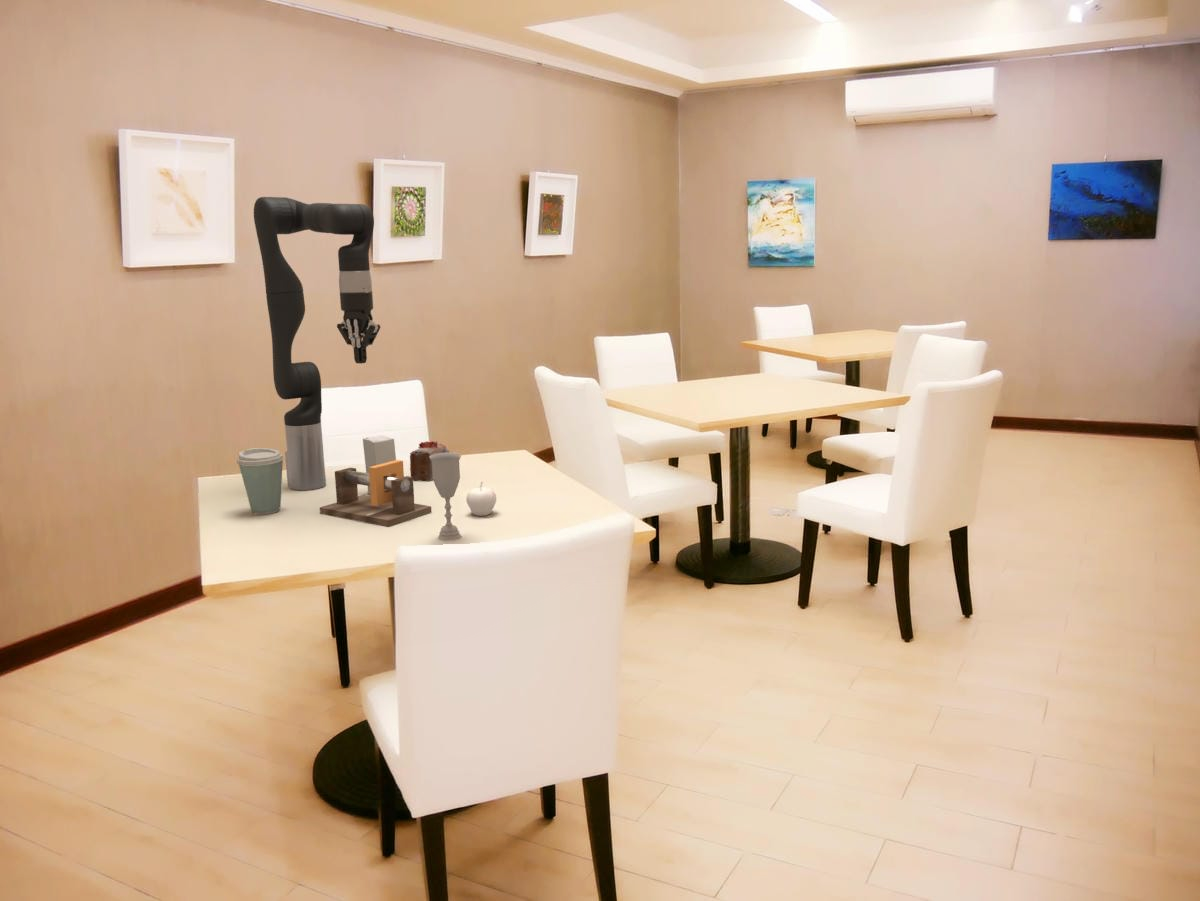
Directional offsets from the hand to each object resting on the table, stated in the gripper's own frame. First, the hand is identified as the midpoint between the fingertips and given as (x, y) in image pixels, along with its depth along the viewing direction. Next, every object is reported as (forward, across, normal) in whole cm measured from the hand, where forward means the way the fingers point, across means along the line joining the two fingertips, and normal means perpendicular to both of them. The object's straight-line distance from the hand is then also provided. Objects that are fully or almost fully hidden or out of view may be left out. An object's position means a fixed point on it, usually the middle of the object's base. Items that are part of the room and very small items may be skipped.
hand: (360, 363), depth 233 cm
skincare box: (+35, -4, +8) cm, 36 cm away
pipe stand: (+35, +8, -6) cm, 36 cm away
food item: (+35, -8, +30) cm, 47 cm away
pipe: (+29, +8, -6) cm, 30 cm away
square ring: (+31, +13, -6) cm, 34 cm away
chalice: (+35, +37, -12) cm, 52 cm away
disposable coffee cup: (+35, -17, -19) cm, 43 cm away
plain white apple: (+35, +31, +6) cm, 47 cm away
